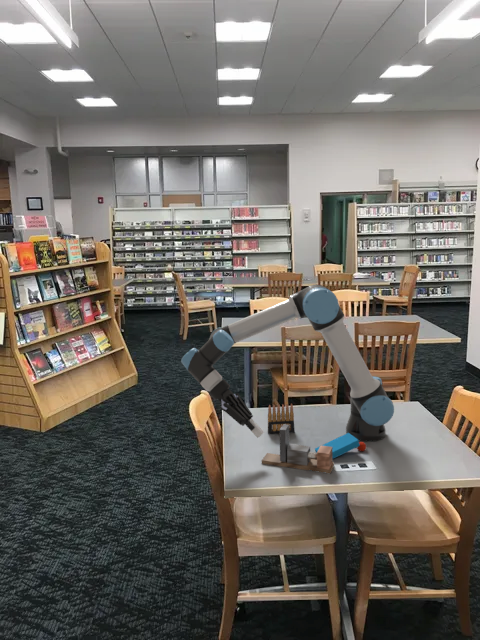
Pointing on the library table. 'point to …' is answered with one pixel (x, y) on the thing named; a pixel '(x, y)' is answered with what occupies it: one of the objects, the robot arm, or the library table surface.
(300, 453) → the wooden bar with block
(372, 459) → the library table surface
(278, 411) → the ammunition clip
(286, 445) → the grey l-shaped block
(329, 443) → the blue block
